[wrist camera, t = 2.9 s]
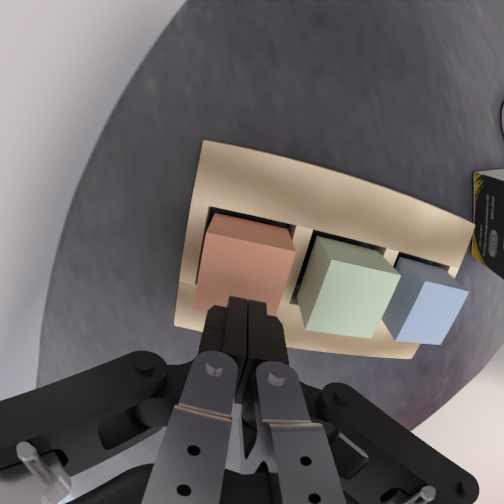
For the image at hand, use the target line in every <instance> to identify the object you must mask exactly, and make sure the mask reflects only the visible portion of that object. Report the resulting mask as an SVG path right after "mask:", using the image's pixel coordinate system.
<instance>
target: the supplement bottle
mask: <svg viewBox="0 0 504 504" xmlns="http://www.w3.org/2000/svg"><path fill="white" fill-rule="evenodd" d="M502 127H503V132H504V105H503V109H502Z"/></svg>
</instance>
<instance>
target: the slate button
mask: <svg viewBox="0 0 504 504" xmlns="http://www.w3.org/2000/svg"><path fill="white" fill-rule="evenodd" d="M395 269H396V270H397V272H398V273H399V274H400V275H401V277H400V279H399V282H398V284H397V286H396V289H395V291H394V293H393V295H392V297H391V300H390V302H389V304H388V306H387V308H386V310H385V312H384V314H383V316H382V318H381V319H382V321H383V322H384V324H385V326H386V327H387V329H388V331H389V332H390V334H391V335H392V337H393V339H394V340H395V341H400V342H411V343H424V344H438V345H440V344H441V343H442V341H443V339H444V338H445V336H446V334H447V333H448V331H449V329H450V327H451V326H452V324H453V322H454V320H455V318H456V316H457V315H458V313H459V311H460V309H461V307H462V305H463V303H464V301H465V299H466V297H467V295H468V293H469V291H468V290H467V289H466V288H465V287H464V286H463V285H461V284H460V283H459V282H458V281H457V280H456V279H455V278H453V277H452V276H451V275H450V274H449V273H448V272H446V271H445V270H444V269H443V268H439V267H436V266H432V265H429V264H425V263H421V262H418V261H414V260H410V259H406V258H403V257H399V260H398V262H397V264H396V267H395Z"/></svg>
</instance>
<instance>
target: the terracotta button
mask: <svg viewBox="0 0 504 504" xmlns="http://www.w3.org/2000/svg"><path fill="white" fill-rule="evenodd" d="M295 253H296V250H295V248H294V245H293V242H292V240H291V237H290V234H289V232H288V229H286V228H281V227H277V226H273V225H268V224H264V223H259V222H255V221H250V220H246V219H241V218H237V217H232V216H227V215H223V214H218V213H215V214H214V216H213V219H212V221H211V223H210V225H209V227H208V229H207V232H206V236H205V242H204V247H203V253H202V258H201V264H200V270H199V276H198V282H197V288H196V294H195V300H194V307H193V309H196V310H201V311H205V312H207V311H208V310H209V309H210V308H211V307H212V306H214V305H218V306H223V307H227V304H228V299H229V296H235V297H240V298H245V299H247V301H248V299H251V300H256V301H261V302H266V304H267V315H271V316H276V313H277V310H278V307H279V304H280V301H281V298H282V295H283V292H284V289H285V285H286V282H287V279H288V276H289V273H290V270H291V266H292V263H293V260H294V257H295Z"/></svg>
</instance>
